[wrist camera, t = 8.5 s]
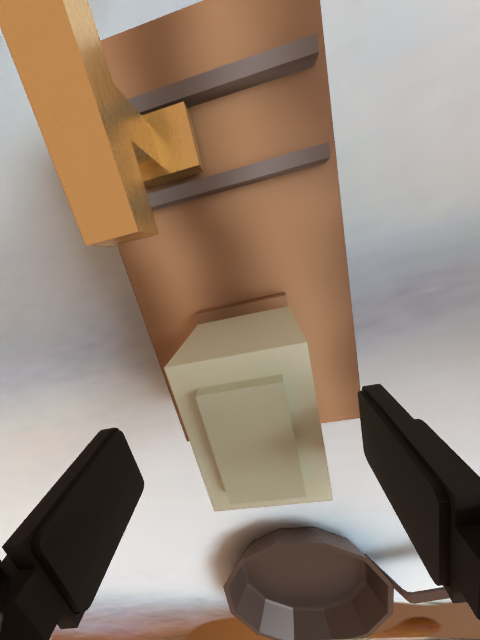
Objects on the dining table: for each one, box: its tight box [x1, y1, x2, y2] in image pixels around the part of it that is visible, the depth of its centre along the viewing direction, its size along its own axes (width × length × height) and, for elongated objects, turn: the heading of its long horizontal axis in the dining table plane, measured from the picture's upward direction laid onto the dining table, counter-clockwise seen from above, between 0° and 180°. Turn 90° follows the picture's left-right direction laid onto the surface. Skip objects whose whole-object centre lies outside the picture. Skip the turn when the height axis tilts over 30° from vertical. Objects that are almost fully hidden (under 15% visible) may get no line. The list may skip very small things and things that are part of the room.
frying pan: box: [224, 527, 450, 640], centre depth 25 cm, size 18×32×4 cm, turn 115°
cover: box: [164, 306, 333, 511], centre depth 12 cm, size 5×7×6 cm
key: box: [0, 0, 204, 246], centre depth 9 cm, size 5×8×6 cm, turn 13°
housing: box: [100, 0, 360, 441], centre depth 15 cm, size 12×22×6 cm, turn 13°
